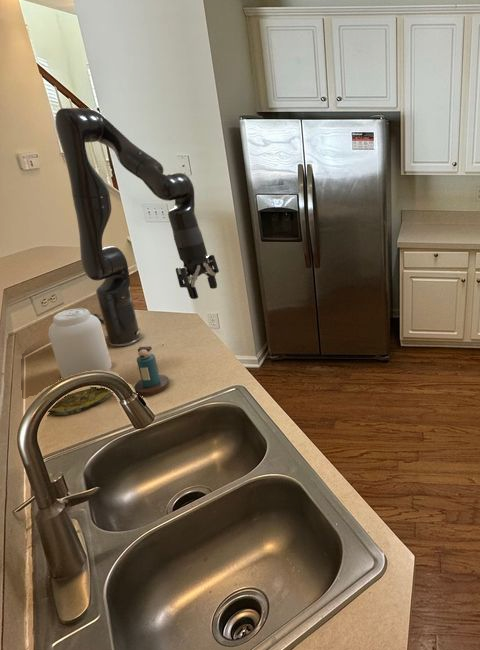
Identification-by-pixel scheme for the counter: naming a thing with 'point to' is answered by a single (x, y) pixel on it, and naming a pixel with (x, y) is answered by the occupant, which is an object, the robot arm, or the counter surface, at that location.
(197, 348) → the counter surface
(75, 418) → the counter surface
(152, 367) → the teal pump bottle
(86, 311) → the white plastic jar
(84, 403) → the mottled olive oval disc
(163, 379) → the stand
